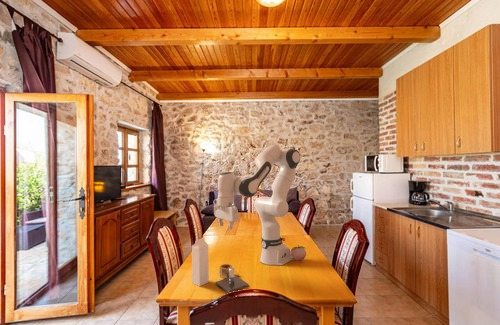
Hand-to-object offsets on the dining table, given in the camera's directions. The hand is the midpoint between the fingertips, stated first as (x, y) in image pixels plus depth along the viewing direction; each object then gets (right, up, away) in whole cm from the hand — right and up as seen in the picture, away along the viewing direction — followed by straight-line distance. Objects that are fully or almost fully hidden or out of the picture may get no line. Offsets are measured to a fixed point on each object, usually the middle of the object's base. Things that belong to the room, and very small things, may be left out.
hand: (225, 227), depth 137 cm
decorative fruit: (+43, -25, +17) cm, 53 cm away
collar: (0, -26, -1) cm, 26 cm away
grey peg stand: (+4, -26, -11) cm, 28 cm away
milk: (-12, -26, -8) cm, 30 cm away
